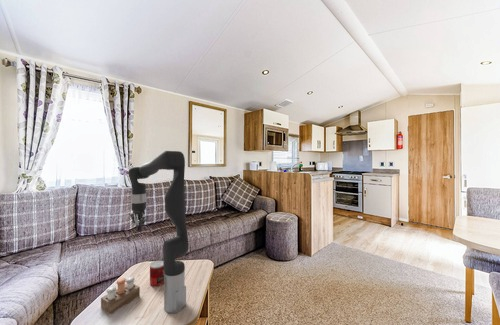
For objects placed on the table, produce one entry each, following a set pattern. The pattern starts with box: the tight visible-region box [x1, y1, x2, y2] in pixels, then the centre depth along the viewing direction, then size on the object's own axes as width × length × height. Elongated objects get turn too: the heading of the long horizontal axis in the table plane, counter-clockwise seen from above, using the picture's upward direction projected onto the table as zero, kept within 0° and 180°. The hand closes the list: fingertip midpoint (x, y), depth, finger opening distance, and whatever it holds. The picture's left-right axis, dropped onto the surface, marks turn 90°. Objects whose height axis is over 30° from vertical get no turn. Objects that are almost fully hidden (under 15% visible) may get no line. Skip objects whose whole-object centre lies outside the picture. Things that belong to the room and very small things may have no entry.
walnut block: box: [100, 283, 141, 315], centre depth 101 cm, size 8×14×5 cm, turn 152°
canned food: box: [149, 260, 164, 288], centre depth 116 cm, size 8×8×11 cm
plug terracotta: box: [116, 277, 127, 295], centre depth 100 cm, size 4×4×9 cm
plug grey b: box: [125, 276, 135, 290], centre depth 104 cm, size 4×4×9 cm
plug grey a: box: [106, 285, 117, 301], centre depth 97 cm, size 4×4×9 cm
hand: (138, 231), depth 117 cm, fingers closed
